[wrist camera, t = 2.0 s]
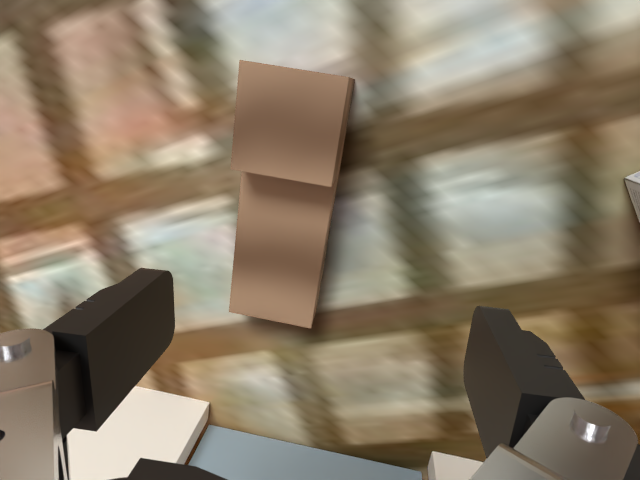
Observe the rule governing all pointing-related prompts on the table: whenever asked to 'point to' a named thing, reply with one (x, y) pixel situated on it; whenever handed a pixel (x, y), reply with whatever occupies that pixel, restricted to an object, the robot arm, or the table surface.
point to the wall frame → (175, 439)
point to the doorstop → (285, 187)
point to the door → (283, 460)
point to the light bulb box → (634, 190)
